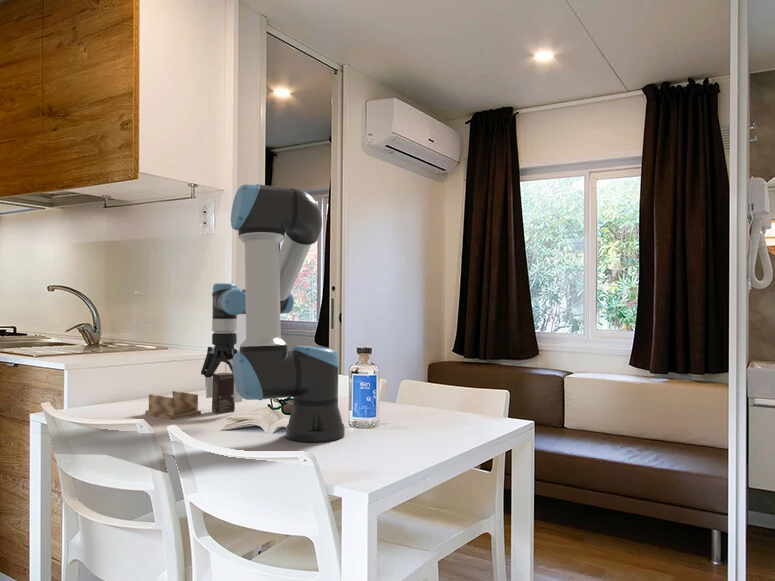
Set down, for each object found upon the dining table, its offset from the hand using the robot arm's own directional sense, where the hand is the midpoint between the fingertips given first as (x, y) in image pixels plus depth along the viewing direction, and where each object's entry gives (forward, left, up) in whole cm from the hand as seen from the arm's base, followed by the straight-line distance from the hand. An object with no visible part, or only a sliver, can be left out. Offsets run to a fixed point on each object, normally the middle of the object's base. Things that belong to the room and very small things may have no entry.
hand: (223, 399), depth 188 cm
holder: (+9, +12, -4) cm, 15 cm away
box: (0, 0, -4) cm, 4 cm away
